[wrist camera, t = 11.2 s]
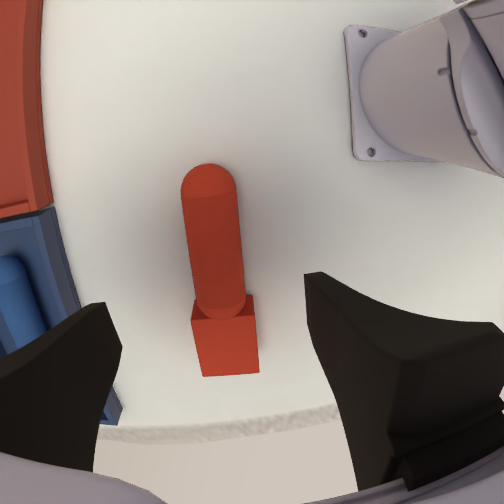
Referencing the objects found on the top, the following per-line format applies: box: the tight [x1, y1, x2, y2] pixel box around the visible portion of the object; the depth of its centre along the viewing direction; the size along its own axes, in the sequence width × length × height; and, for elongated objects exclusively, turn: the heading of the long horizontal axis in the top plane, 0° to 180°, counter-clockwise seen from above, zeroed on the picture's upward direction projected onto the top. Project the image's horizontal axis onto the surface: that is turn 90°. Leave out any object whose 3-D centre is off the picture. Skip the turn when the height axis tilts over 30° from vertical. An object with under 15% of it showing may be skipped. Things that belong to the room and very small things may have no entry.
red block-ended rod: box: [181, 164, 260, 377], centre depth 18 cm, size 13×4×3 cm, turn 4°
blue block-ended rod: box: [0, 255, 47, 349], centre depth 18 cm, size 13×4×3 cm, turn 4°
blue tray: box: [0, 207, 122, 426], centre depth 19 cm, size 10×17×2 cm, turn 4°
